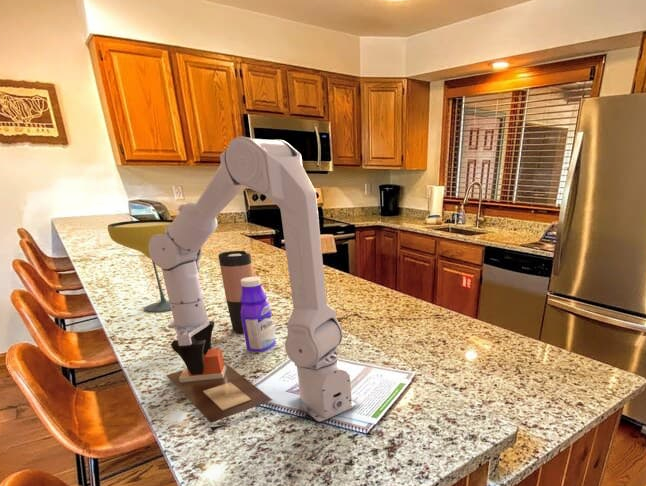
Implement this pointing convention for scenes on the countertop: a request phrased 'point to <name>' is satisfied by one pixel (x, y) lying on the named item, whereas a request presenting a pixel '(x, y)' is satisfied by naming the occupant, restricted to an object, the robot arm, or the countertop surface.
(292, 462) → the countertop surface
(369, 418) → the countertop surface
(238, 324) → the travel mug
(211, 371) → the orange cube on base
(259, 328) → the bottle
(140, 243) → the cocktail glass
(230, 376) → the flat brown mat
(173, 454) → the countertop surface
